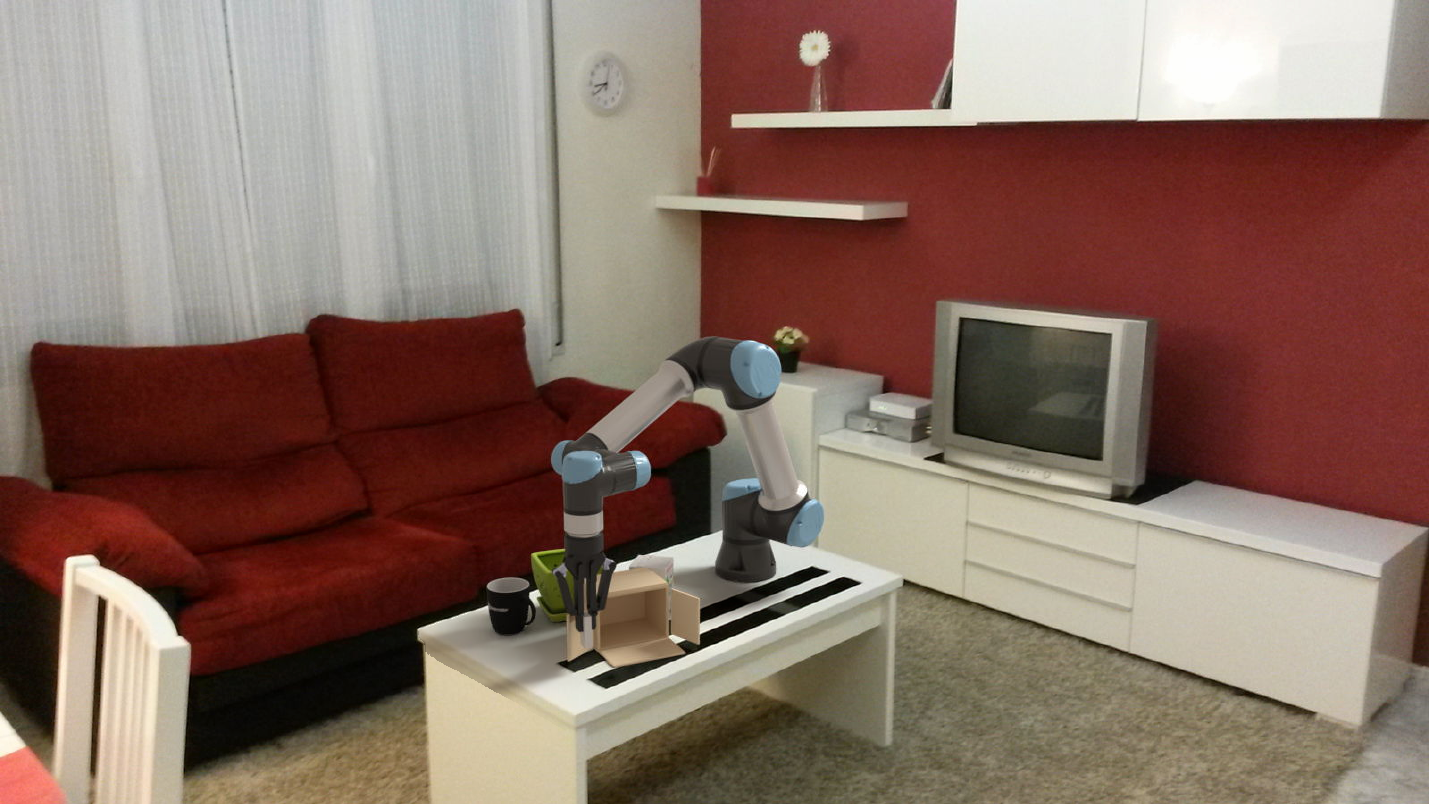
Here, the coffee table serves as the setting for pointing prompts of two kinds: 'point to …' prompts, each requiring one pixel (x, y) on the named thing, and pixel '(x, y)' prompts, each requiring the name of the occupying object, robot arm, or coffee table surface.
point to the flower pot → (551, 583)
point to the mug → (509, 605)
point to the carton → (643, 618)
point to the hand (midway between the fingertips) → (586, 645)
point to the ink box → (657, 568)
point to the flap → (574, 638)
